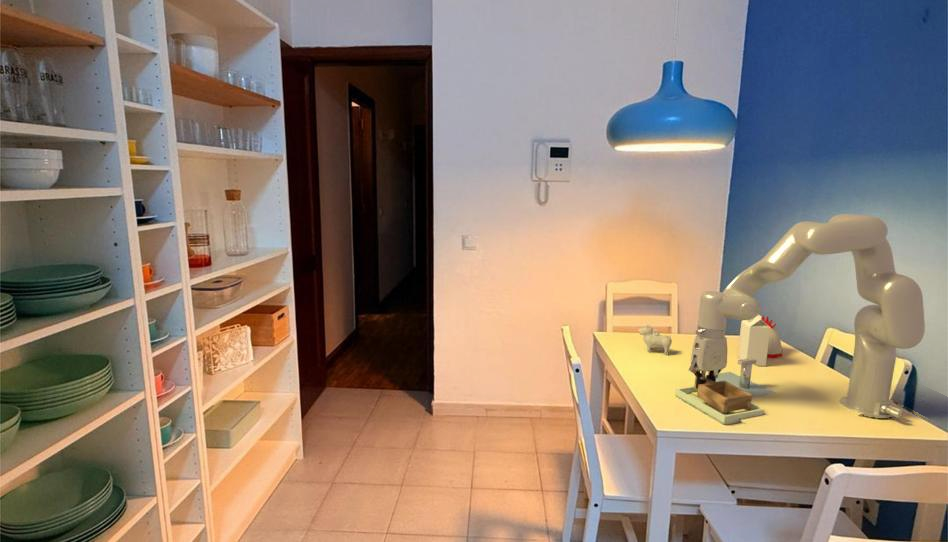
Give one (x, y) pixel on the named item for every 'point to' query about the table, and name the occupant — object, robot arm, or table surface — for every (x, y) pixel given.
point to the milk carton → (754, 340)
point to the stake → (746, 372)
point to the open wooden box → (714, 392)
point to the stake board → (753, 390)
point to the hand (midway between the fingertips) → (705, 389)
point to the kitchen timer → (773, 341)
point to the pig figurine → (655, 338)
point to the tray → (712, 411)
